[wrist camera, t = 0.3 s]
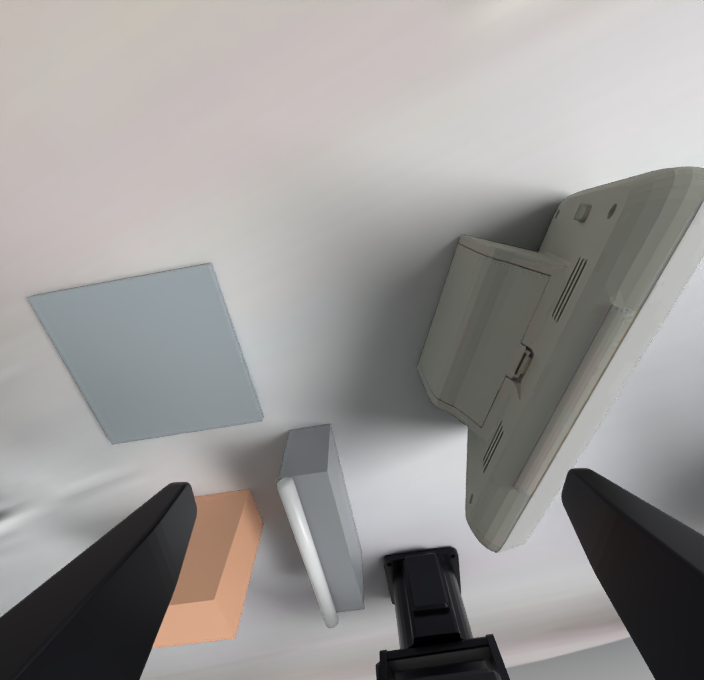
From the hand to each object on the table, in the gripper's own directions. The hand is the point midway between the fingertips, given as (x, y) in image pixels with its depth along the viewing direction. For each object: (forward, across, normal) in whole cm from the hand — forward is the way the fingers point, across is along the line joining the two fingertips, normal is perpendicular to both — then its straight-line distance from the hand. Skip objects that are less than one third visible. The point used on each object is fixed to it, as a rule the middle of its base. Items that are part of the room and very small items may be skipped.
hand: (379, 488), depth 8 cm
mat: (+14, +13, +3) cm, 20 cm away
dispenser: (+14, +3, +16) cm, 21 cm away
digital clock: (+14, -9, +1) cm, 17 cm away
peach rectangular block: (+14, +12, +17) cm, 25 cm away
